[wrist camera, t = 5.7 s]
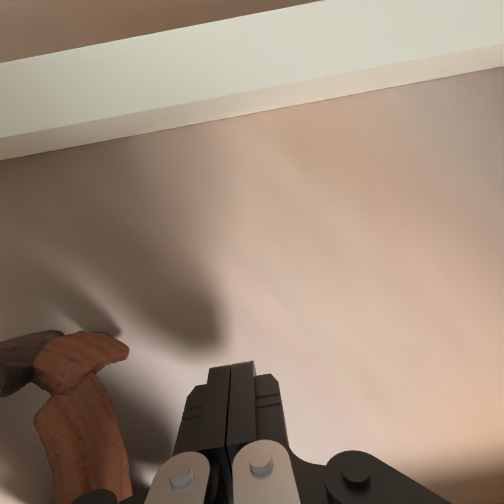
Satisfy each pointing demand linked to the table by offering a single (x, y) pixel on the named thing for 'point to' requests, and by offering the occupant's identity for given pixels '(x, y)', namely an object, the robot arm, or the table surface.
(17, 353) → the pottery mug
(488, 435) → the table surface
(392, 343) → the table surface
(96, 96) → the cold frame
